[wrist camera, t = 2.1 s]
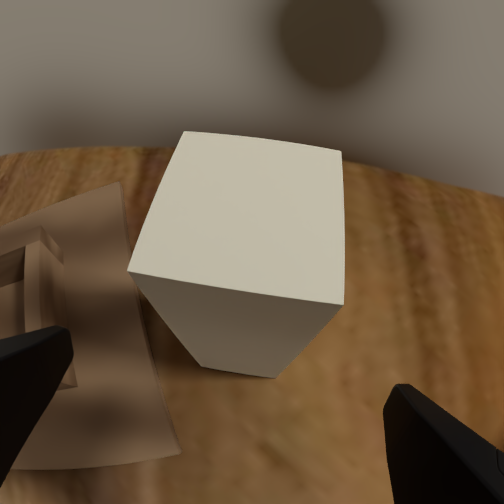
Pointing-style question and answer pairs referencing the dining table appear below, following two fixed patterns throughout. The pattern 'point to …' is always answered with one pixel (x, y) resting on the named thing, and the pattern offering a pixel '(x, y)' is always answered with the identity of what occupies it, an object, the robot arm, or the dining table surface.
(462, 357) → the dining table surface
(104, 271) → the leg socket
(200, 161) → the stool leg
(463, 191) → the dining table surface
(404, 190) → the dining table surface
